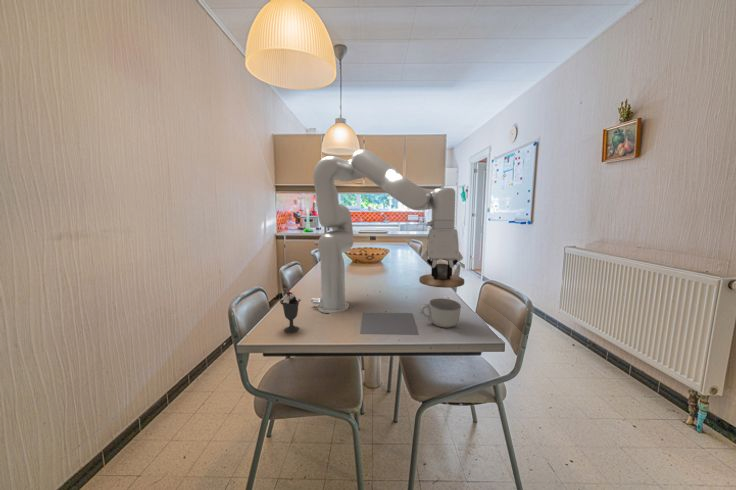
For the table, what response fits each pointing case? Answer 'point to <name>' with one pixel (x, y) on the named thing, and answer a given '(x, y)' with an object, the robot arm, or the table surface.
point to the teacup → (442, 312)
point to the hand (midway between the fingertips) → (441, 277)
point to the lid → (442, 278)
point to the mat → (388, 324)
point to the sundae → (290, 310)
